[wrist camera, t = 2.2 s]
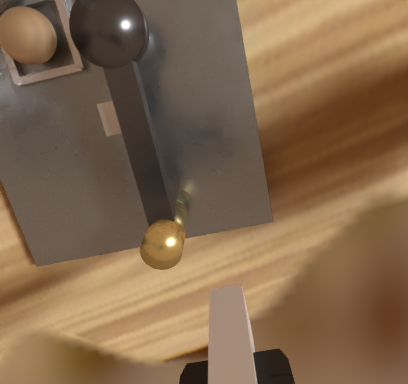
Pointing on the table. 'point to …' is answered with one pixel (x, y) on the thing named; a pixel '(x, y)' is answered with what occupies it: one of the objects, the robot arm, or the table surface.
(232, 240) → the table surface
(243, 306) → the robot arm
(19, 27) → the tan wooden ball
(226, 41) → the bench plate
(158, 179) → the lever
